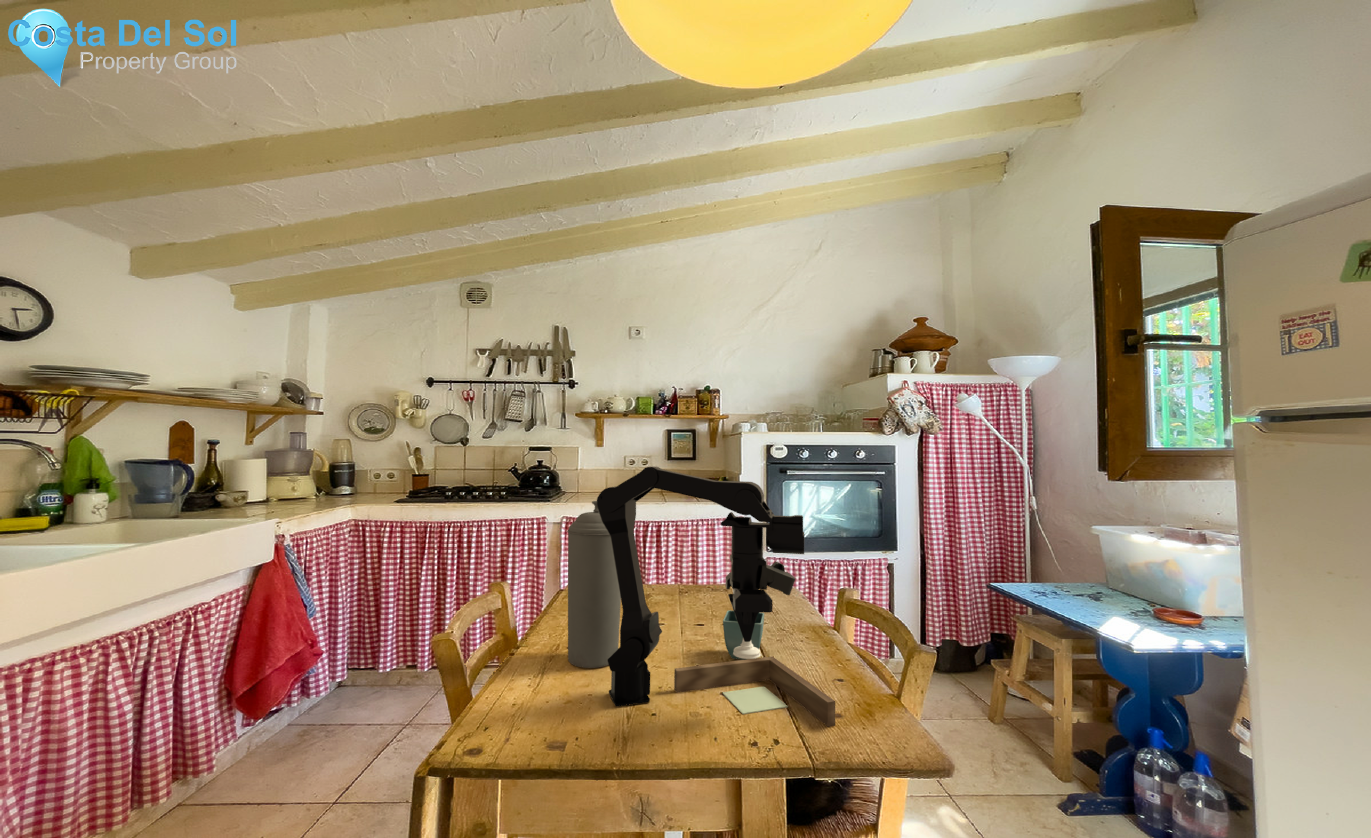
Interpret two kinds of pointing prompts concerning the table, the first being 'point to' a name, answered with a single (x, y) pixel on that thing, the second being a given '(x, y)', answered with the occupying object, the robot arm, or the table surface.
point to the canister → (592, 593)
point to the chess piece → (746, 651)
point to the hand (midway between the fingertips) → (746, 639)
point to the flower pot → (734, 633)
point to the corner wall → (756, 672)
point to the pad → (754, 700)
